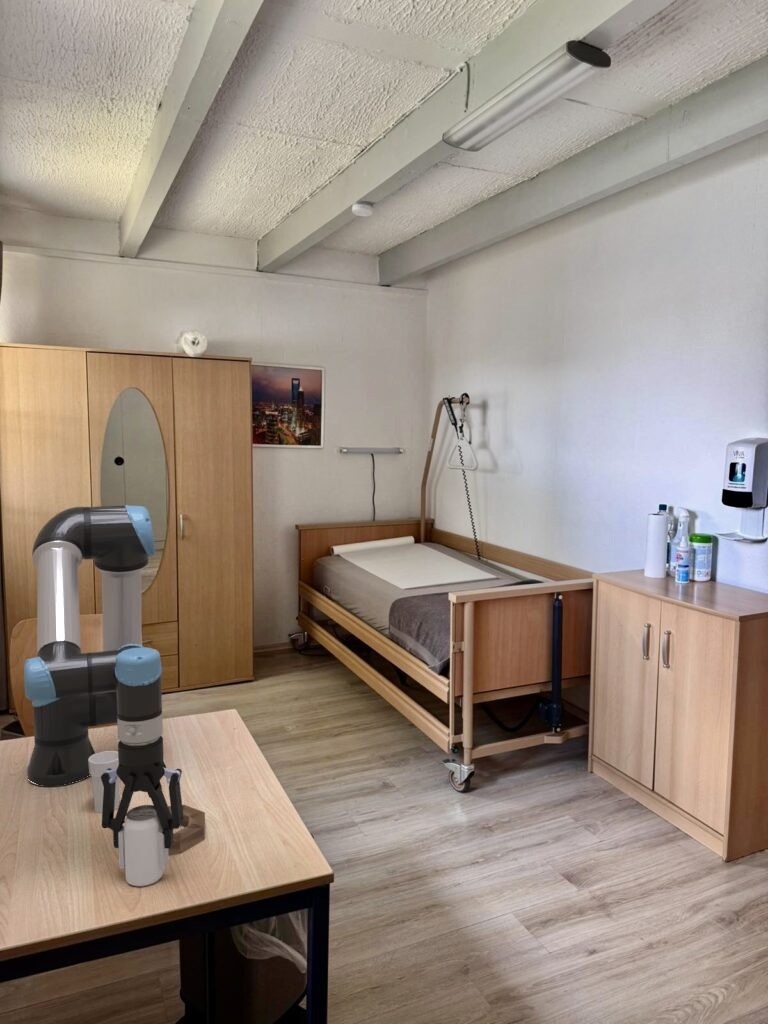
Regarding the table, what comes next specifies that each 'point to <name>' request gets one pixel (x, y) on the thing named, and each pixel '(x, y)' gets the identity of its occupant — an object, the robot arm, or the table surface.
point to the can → (142, 846)
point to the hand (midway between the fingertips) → (144, 864)
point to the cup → (96, 769)
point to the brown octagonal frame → (188, 830)
